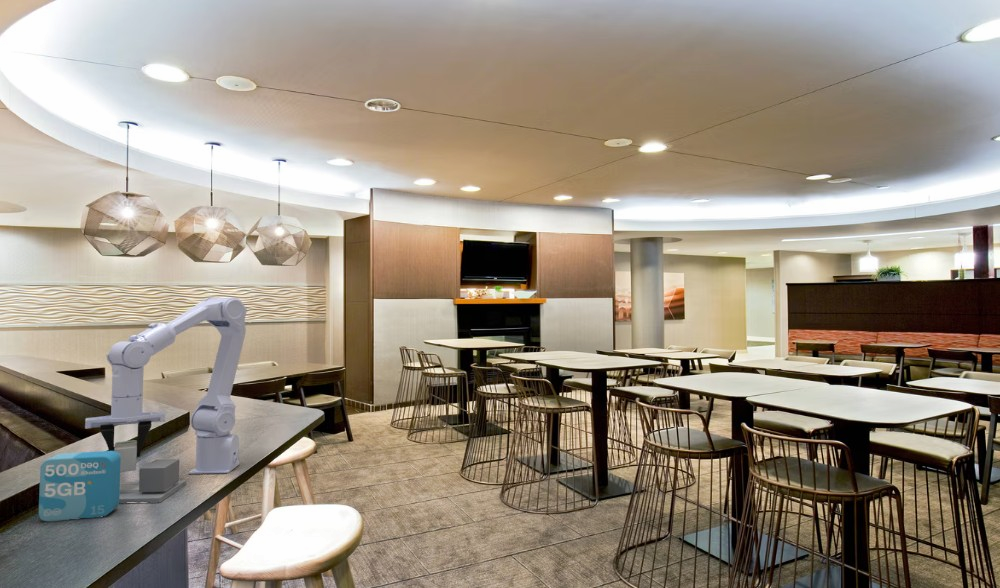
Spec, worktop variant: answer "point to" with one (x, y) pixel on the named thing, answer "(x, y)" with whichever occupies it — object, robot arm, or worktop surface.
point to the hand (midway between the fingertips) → (125, 457)
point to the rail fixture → (153, 483)
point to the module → (127, 455)
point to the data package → (79, 485)
